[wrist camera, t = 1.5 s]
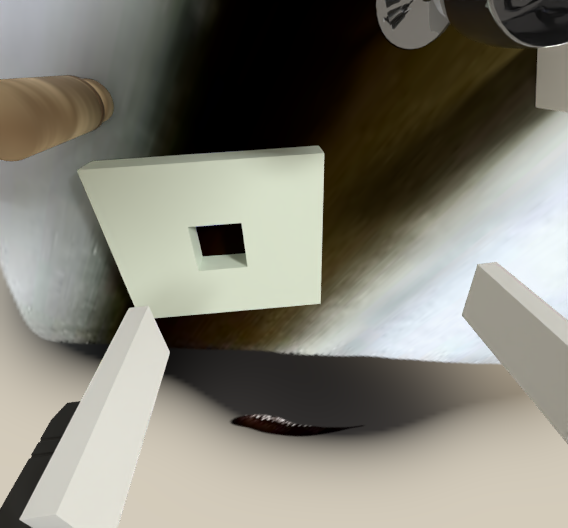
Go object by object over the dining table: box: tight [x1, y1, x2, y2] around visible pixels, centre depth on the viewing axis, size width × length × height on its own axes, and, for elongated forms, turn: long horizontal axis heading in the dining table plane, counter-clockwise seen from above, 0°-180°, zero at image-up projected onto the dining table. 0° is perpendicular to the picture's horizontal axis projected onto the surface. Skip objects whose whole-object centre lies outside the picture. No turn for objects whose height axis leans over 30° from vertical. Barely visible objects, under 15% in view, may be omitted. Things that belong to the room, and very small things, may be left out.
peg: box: [0, 75, 114, 161], centre depth 22 cm, size 4×4×12 cm
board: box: [77, 146, 324, 318], centre depth 33 cm, size 18×22×3 cm
